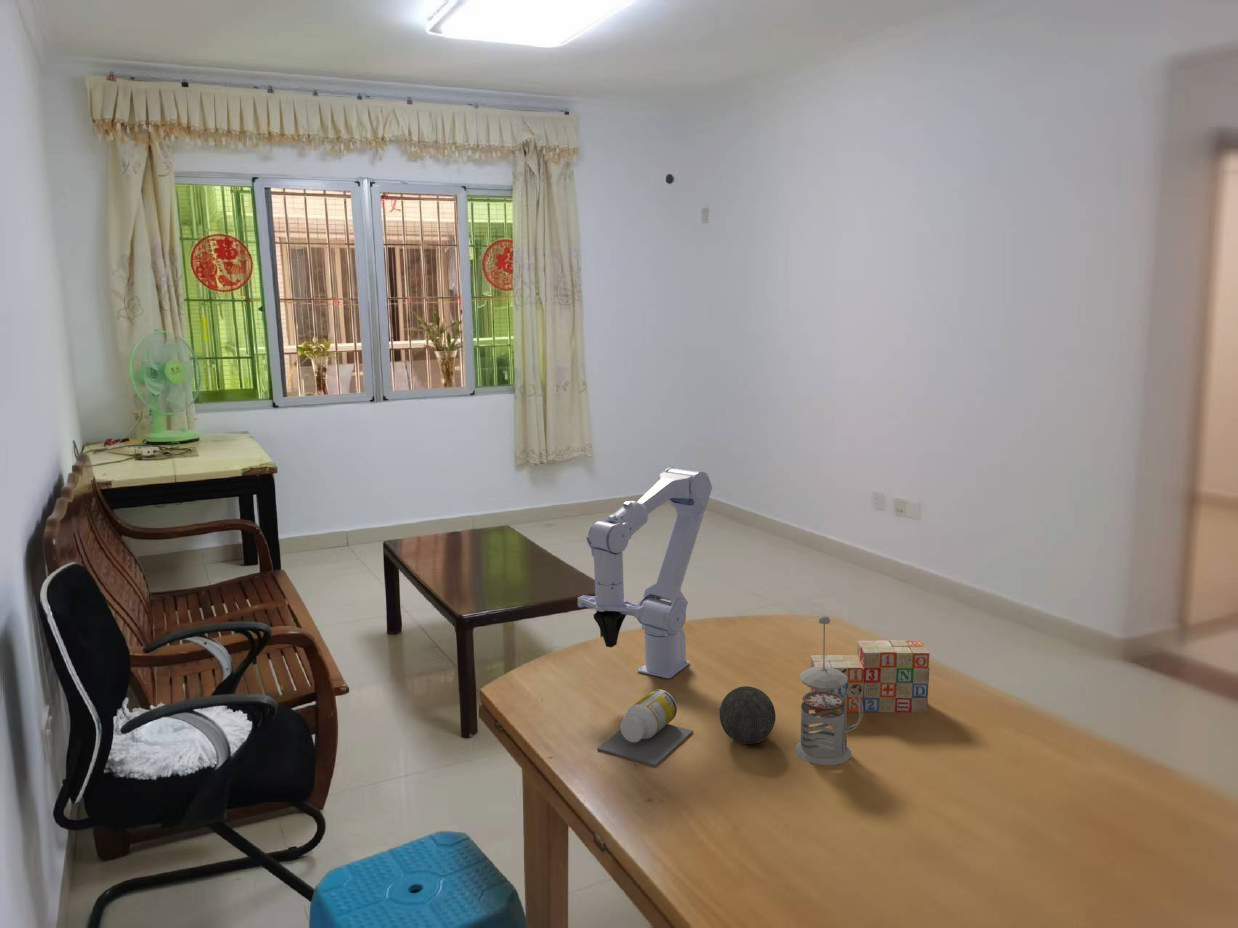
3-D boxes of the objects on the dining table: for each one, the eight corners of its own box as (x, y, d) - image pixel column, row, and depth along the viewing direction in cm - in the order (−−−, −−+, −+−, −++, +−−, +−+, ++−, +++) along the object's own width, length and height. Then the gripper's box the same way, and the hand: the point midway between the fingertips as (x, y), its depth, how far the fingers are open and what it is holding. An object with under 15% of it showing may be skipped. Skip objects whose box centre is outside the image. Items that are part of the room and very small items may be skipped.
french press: (805, 732, 163) (806, 602, 158) (869, 747, 157) (871, 612, 152) (786, 756, 155) (786, 620, 150) (852, 773, 149) (854, 631, 144)
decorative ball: (770, 757, 155) (770, 704, 153) (714, 750, 158) (713, 697, 156) (779, 731, 164) (779, 680, 162) (726, 724, 167) (725, 674, 165)
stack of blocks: (814, 713, 171) (814, 652, 169) (809, 698, 177) (810, 640, 175) (928, 713, 169) (930, 652, 167) (919, 698, 175) (921, 639, 173)
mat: (637, 718, 171) (637, 716, 171) (693, 732, 165) (693, 730, 164) (597, 750, 159) (597, 748, 159) (655, 766, 153) (655, 764, 153)
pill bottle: (644, 706, 171) (610, 732, 161) (656, 681, 168) (622, 705, 159) (671, 727, 168) (638, 754, 159) (683, 702, 166) (651, 728, 156)
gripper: (567, 581, 178) (570, 645, 180) (629, 592, 170) (631, 658, 173) (587, 571, 184) (590, 634, 186) (648, 581, 176) (649, 646, 179)
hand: (611, 645), depth 180 cm, fingers closed
